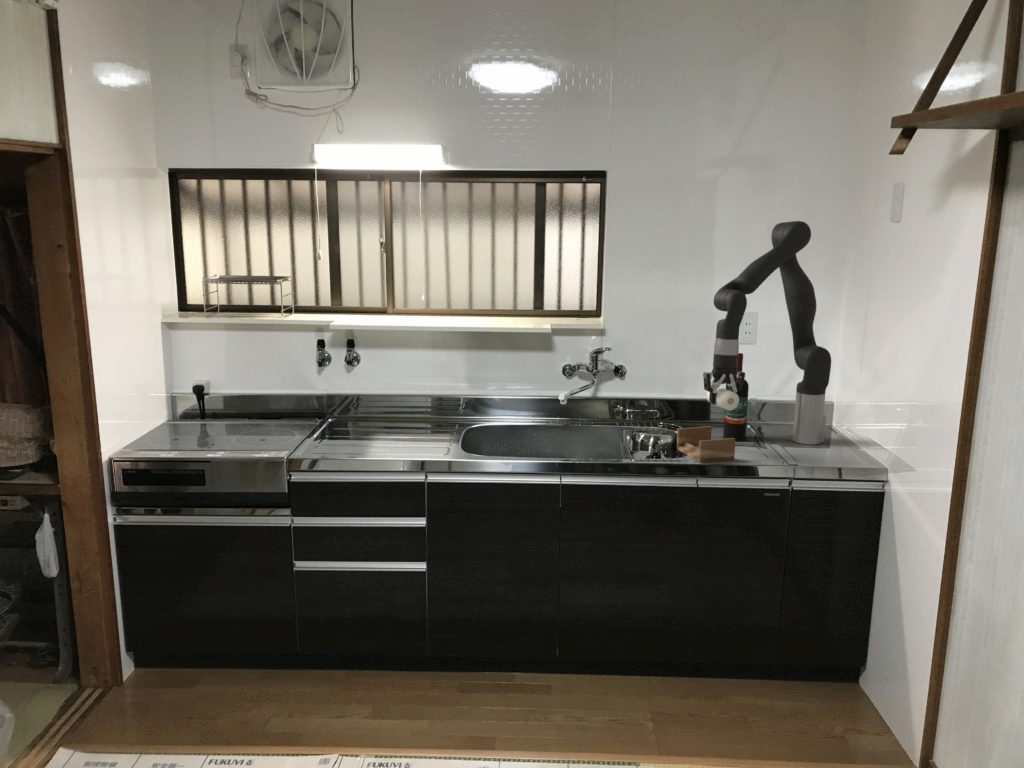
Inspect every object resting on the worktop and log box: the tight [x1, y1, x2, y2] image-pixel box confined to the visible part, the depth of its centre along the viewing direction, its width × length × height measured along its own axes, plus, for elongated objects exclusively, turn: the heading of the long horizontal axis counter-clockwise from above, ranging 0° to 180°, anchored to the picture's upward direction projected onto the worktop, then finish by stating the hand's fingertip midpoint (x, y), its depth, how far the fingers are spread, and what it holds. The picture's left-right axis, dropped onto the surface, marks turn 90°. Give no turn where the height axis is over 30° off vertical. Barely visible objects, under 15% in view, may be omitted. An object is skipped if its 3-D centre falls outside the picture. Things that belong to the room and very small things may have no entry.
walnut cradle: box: [676, 425, 736, 463], centre depth 245 cm, size 16×12×7 cm
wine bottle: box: [722, 352, 750, 442], centre depth 260 cm, size 8×8×30 cm
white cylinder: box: [705, 386, 739, 410], centre depth 243 cm, size 10×6×6 cm
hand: (722, 403), depth 244 cm, fingers closed on white cylinder, 6 cm apart
